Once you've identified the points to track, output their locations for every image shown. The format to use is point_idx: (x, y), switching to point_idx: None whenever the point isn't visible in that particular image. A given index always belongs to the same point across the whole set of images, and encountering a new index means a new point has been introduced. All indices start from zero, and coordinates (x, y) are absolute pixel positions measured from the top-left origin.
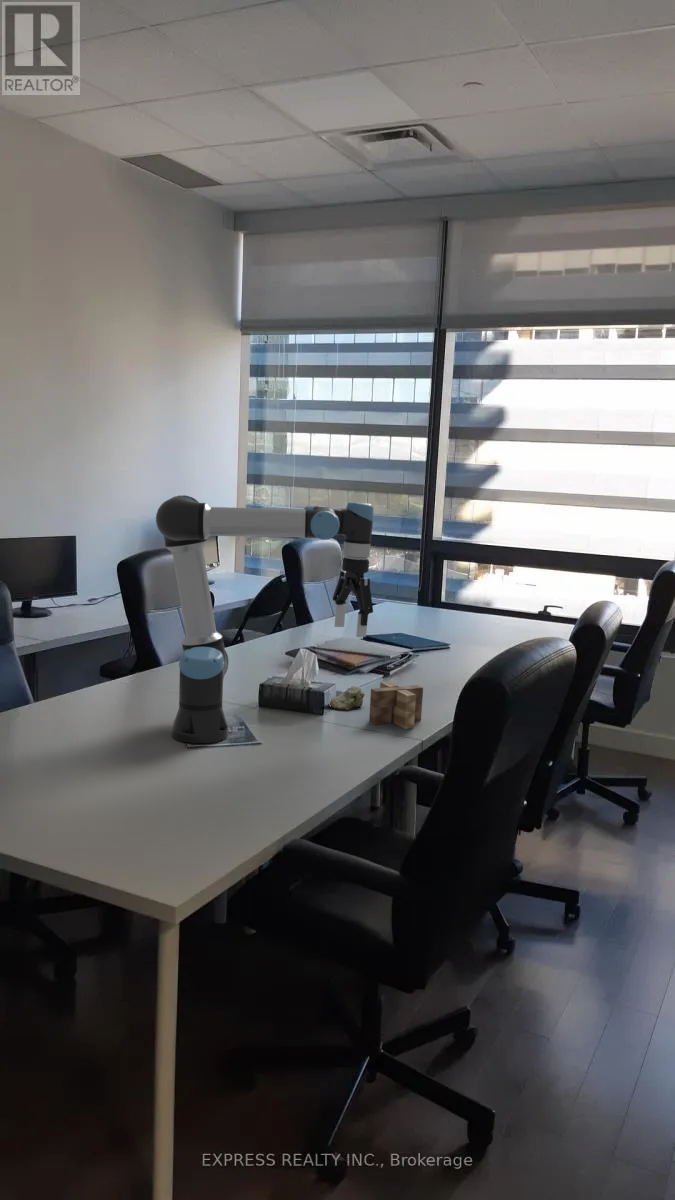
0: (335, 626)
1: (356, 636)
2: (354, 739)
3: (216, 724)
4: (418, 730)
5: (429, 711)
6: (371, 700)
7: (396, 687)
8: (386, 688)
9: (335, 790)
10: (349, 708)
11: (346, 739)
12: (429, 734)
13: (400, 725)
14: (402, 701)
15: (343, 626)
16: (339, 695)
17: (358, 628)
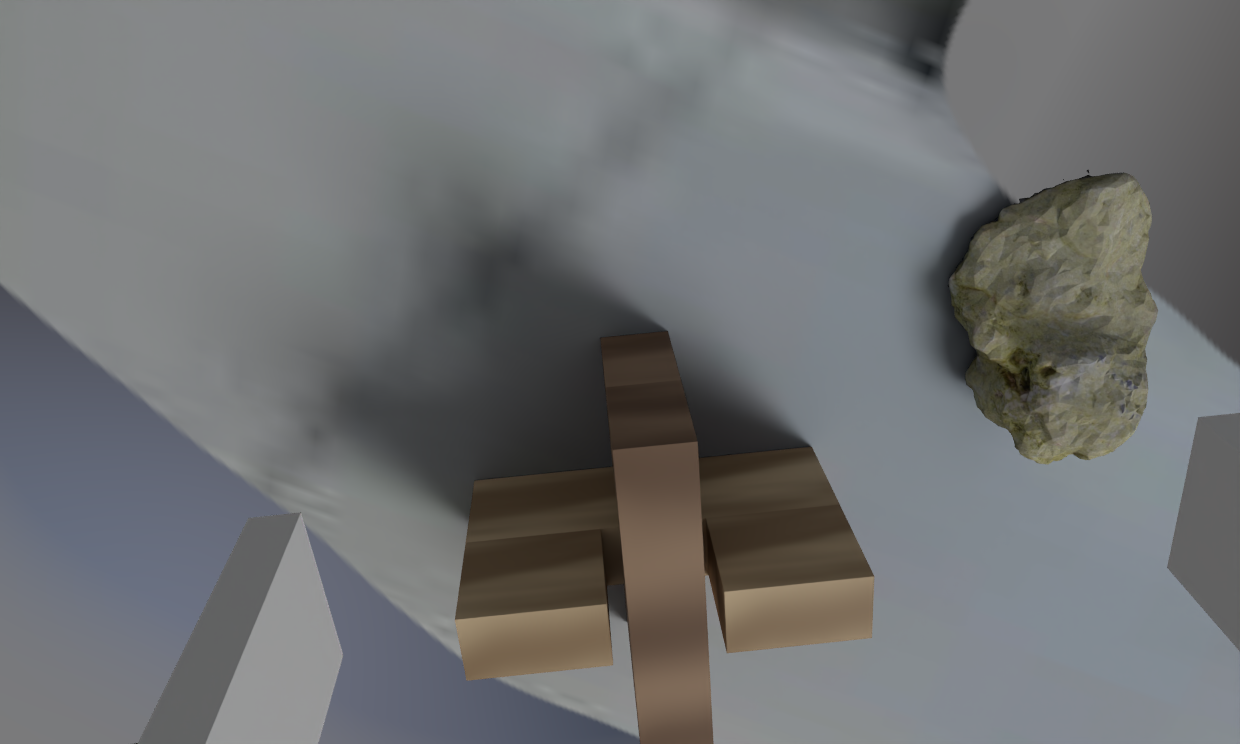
0: (1216, 420)
1: (288, 514)
2: (305, 89)
3: None
4: (439, 541)
5: (769, 715)
6: (666, 400)
7: (690, 627)
8: (679, 554)
9: None
10: (953, 302)
11: (311, 30)
12: (356, 569)
13: (528, 478)
14: (517, 575)
15: (1175, 564)
16: (1129, 299)
17: (197, 641)
